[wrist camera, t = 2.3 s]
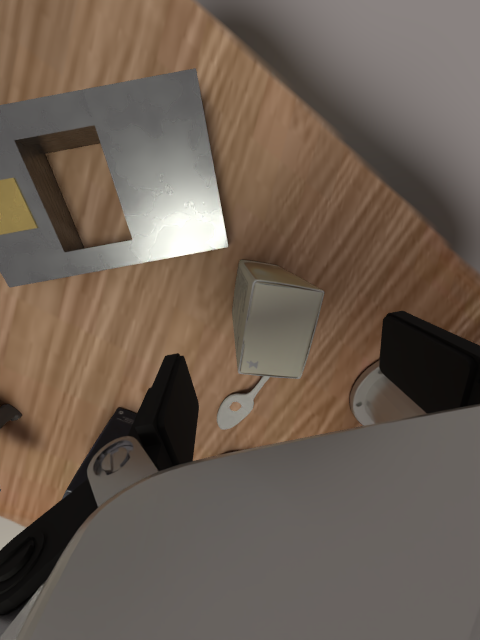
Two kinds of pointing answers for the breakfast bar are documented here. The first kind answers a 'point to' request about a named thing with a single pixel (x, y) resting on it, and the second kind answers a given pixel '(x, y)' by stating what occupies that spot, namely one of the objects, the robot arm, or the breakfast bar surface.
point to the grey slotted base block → (126, 170)
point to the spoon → (232, 418)
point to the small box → (104, 443)
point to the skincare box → (273, 320)
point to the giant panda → (8, 414)
